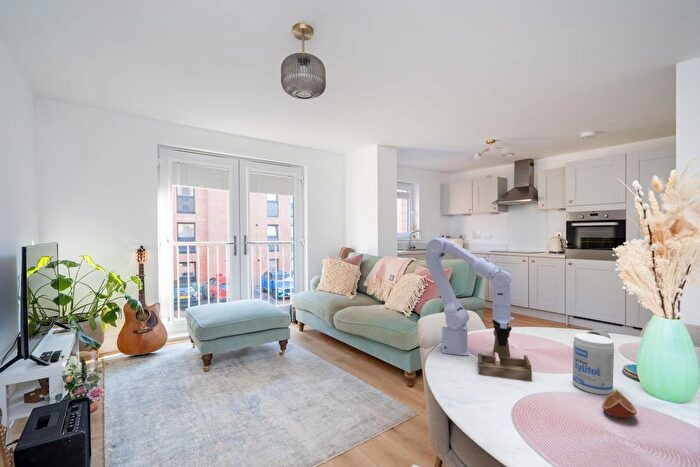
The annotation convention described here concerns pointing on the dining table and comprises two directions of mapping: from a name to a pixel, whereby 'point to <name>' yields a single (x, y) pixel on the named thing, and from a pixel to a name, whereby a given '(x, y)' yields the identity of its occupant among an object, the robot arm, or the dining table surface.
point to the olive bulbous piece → (501, 347)
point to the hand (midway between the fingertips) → (501, 343)
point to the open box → (505, 367)
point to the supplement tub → (593, 363)
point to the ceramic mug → (599, 333)
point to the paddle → (497, 360)
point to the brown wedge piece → (618, 405)
